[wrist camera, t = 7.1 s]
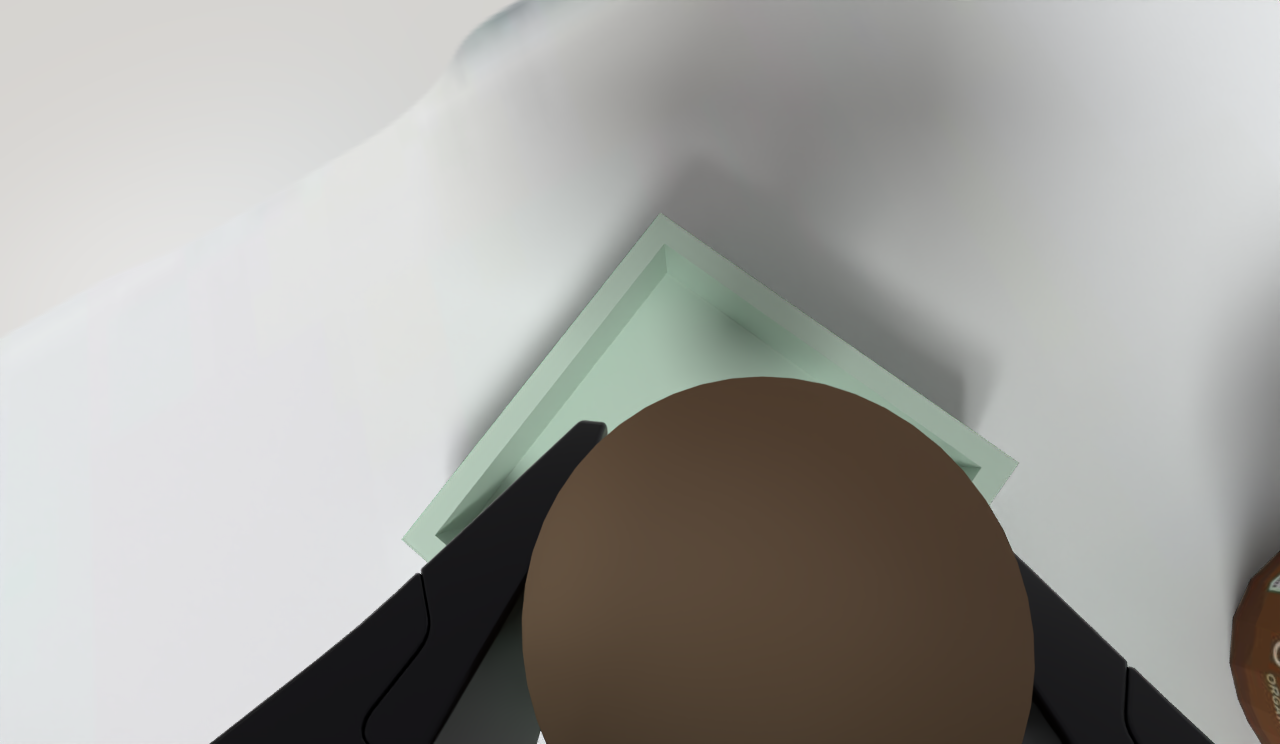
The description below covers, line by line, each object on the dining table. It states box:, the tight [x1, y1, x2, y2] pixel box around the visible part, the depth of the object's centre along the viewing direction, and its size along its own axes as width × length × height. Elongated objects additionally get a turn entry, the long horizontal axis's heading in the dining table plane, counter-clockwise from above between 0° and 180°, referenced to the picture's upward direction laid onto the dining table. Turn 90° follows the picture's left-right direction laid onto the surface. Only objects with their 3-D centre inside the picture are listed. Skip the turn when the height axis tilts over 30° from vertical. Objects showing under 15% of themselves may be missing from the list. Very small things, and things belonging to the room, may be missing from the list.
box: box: [401, 213, 1019, 563], centre depth 20 cm, size 14×14×4 cm
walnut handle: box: [522, 376, 1035, 744], centre depth 10 cm, size 4×4×10 cm
